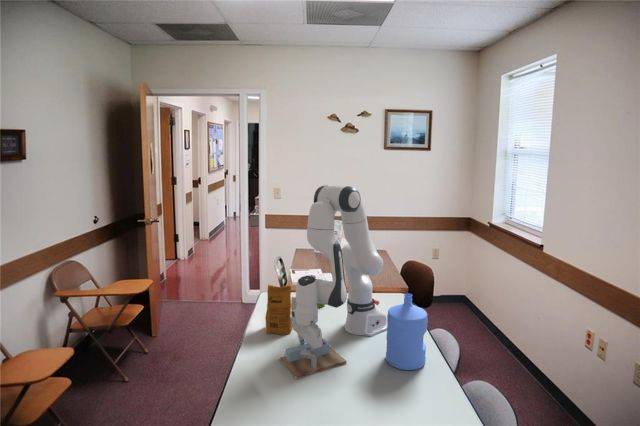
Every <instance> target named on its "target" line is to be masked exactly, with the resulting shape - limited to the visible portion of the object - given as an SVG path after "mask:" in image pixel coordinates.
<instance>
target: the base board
mask: <svg viewBox="0 0 640 426" xmlns="http://www.w3.org/2000/svg"><path fill="white" fill-rule="evenodd" d="M279 359H280V361H281V362H282V363H284V364H285V365H284V364H283V365H284V366H285V368H287V370H288V371H289V372H290V371H291V372H290V373H291V374H292V375H293V376H294V377H295V378H296V379H299V378H303V377H306V376H310V375H312V374H315V373H316V374H317V373H319V372H323V371H326V370H330V369H333V368H336V367H340V366H343V365H346V364H347V359H345V358H344V357H343V356H342V355H340V354H339V352H337V351H336V350H335V349H334V348H332V347H331V345H329V353H328V354H325V355H321V356H318V357H317V369H311V358H310V359H307V358H303V359H299V360H296V361H292V362H289V361H288V360H287V359H286V355H284V356H280V358H279Z"/></svg>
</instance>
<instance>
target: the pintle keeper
mask: <svg viewBox="0 0 640 426" xmlns="http://www.w3.org/2000/svg"><path fill="white" fill-rule="evenodd" d="M299 357H303V358H307V359H310V358H311V369H317V352H314V351H311V350H306V349H303V350H302V351H301V352H300V353H299Z"/></svg>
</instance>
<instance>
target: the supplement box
mask: <svg viewBox="0 0 640 426" xmlns="http://www.w3.org/2000/svg"><path fill="white" fill-rule="evenodd" d="M296 307H297V303H296V291H295V292H294V293H293V294H292V296H291V310H295V309H296Z"/></svg>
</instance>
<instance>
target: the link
mask: <svg viewBox="0 0 640 426" xmlns="http://www.w3.org/2000/svg"><path fill="white" fill-rule="evenodd" d="M329 346H330V343H329V342H328V341H327V340H325V338H323V337H322V347H321V348H317V349H316V350H315V352H317V357H318V356H321V355H325V354H328V353H329ZM303 349H306V350H310V349H311V346H310V345H309V344H308V343H307V342H306V343H304V344H302V345H301V344H299V345H296V346H292V347H288V348H286V349H285V356H286V359H287V360H288V361H289V362H292V361H296V360H299V359H303V357H299V353H300V352H301V351H302V350H303Z"/></svg>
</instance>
